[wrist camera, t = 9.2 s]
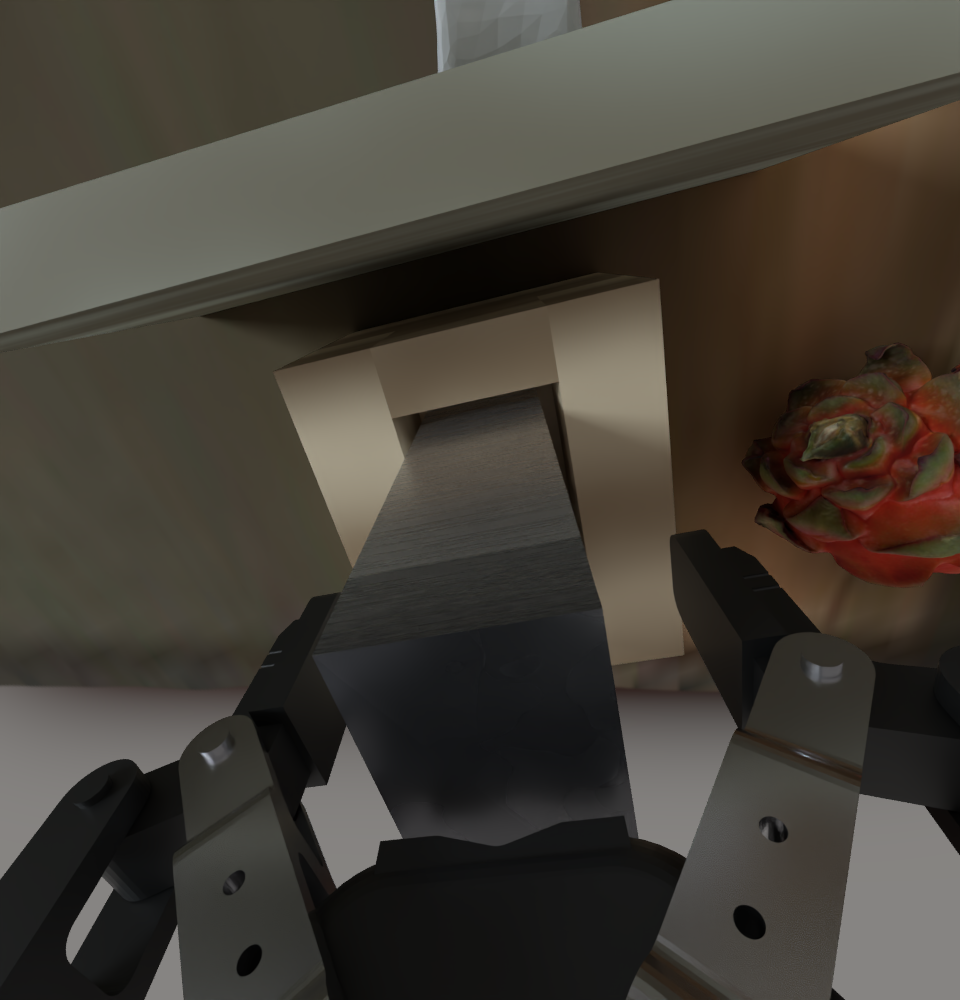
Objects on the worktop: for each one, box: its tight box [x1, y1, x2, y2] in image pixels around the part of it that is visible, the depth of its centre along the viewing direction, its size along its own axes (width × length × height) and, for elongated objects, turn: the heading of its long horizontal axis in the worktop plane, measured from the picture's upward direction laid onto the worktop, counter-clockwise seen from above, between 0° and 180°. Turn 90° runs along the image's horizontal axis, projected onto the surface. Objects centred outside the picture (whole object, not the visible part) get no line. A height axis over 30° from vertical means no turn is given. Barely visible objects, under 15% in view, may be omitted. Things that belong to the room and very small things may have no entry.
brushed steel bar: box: [312, 387, 638, 846], centre depth 13 cm, size 7×4×12 cm, turn 13°
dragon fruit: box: [742, 343, 960, 588], centre depth 18 cm, size 8×8×12 cm
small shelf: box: [0, 0, 960, 665], centre depth 15 cm, size 16×22×13 cm
